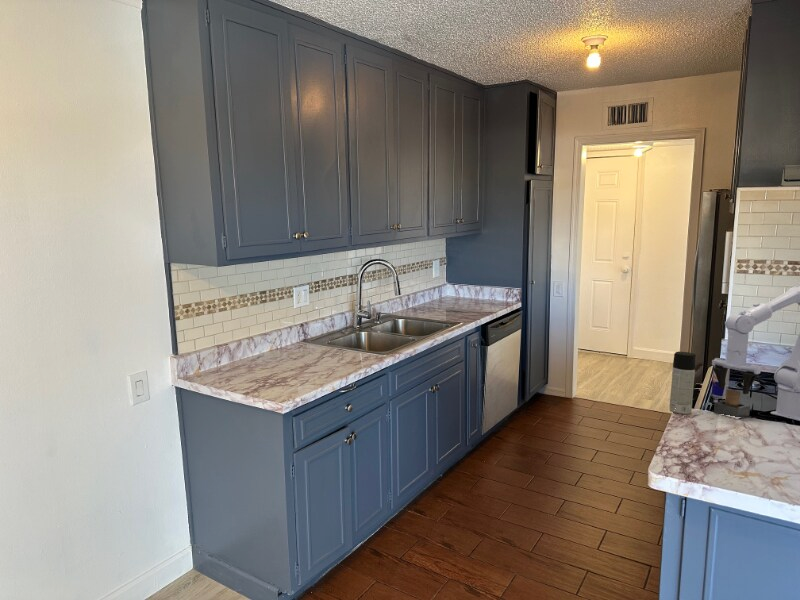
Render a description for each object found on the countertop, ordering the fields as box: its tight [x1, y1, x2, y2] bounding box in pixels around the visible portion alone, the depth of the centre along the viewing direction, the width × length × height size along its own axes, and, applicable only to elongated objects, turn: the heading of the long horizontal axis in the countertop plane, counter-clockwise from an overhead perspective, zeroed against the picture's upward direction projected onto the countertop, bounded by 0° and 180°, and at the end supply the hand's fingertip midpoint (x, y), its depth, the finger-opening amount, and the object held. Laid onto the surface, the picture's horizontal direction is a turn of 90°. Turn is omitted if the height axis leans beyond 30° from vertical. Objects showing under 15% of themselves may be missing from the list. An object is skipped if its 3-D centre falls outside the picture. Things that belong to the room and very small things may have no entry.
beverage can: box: [711, 357, 731, 400], centre depth 206 cm, size 5×5×15 cm
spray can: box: [669, 351, 697, 415], centre depth 187 cm, size 7×7×20 cm
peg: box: [724, 389, 741, 407], centre depth 186 cm, size 4×4×8 cm
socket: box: [713, 400, 751, 418], centre depth 186 cm, size 8×8×4 cm
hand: (733, 391), depth 186 cm, fingers open, 7 cm apart
